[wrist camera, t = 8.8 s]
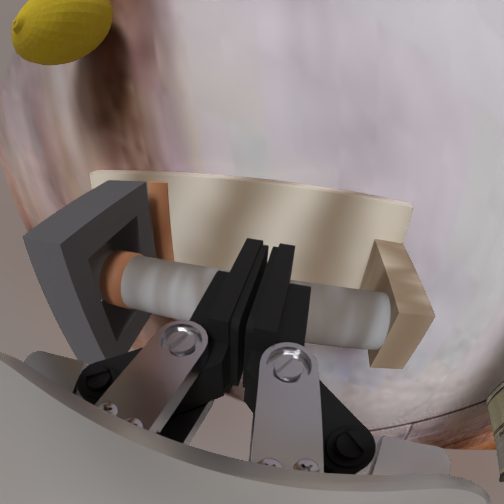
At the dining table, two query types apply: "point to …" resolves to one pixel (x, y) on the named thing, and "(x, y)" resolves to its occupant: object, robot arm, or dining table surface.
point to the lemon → (60, 29)
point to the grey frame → (78, 269)
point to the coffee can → (498, 423)
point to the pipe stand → (272, 233)
